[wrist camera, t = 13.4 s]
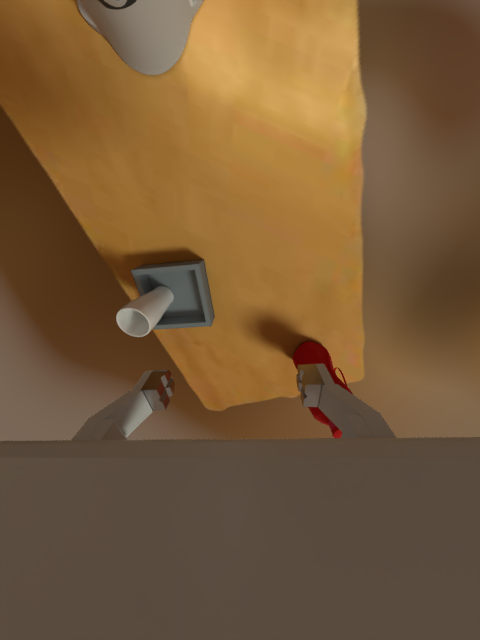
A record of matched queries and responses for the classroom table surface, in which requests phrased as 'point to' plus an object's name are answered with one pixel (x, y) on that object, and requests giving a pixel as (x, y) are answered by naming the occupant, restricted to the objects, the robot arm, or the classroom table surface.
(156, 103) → the classroom table surface
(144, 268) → the bin
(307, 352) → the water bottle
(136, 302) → the drinking glass
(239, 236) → the classroom table surface
